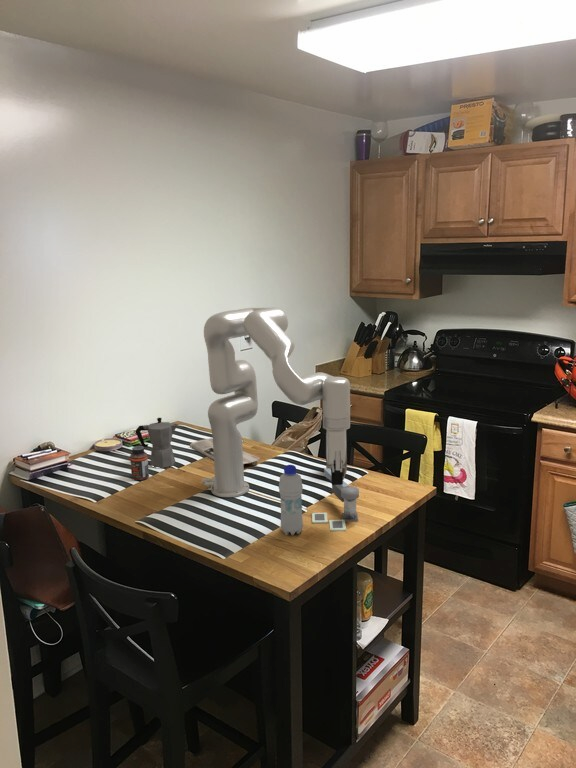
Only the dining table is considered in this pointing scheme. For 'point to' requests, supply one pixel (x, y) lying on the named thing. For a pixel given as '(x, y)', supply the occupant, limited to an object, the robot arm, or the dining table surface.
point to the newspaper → (207, 450)
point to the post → (350, 510)
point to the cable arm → (342, 489)
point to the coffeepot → (159, 442)
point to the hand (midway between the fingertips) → (337, 483)
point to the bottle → (291, 500)
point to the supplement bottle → (139, 463)
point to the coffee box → (344, 467)
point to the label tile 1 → (319, 518)
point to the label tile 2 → (337, 525)
